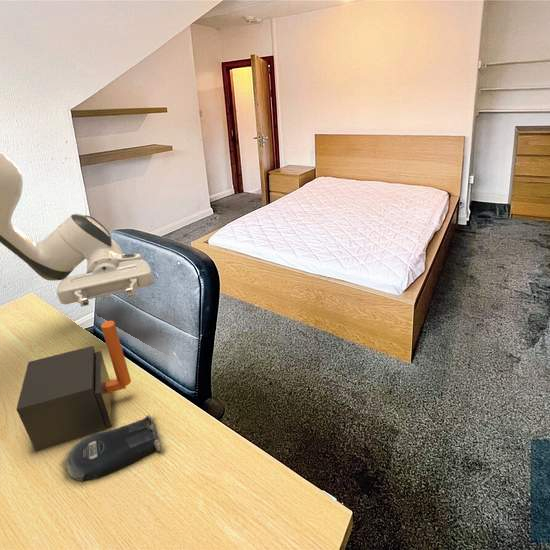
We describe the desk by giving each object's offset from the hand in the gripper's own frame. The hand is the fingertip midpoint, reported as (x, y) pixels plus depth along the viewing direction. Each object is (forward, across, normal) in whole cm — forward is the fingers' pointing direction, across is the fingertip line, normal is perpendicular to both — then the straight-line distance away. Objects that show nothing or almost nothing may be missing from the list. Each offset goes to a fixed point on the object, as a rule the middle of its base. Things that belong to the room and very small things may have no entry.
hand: (107, 297), depth 87 cm
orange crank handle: (+13, -7, +17) cm, 22 cm away
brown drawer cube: (+12, -11, +18) cm, 25 cm away
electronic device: (+26, -4, +18) cm, 32 cm away
